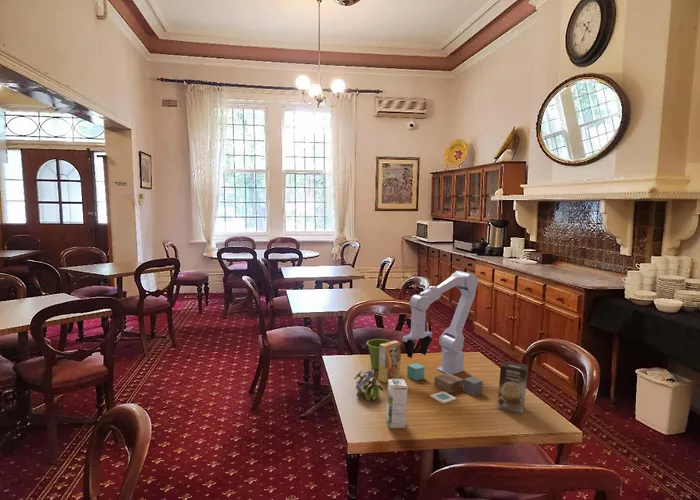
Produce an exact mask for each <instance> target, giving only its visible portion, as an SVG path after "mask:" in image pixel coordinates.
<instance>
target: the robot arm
mask: <svg viewBox="0 0 700 500" xmlns="http://www.w3.org/2000/svg"><path fill="white" fill-rule="evenodd" d="M479 283H480V281H479V279H478V277H477V275H476V274H474V273H469V272H465V271H462V270H456V271H455V272H453V273H451V275H450V277H448V278H447V279H445V280H444V281H442V282H441V283H440V284H439V285H437V286H435V285H433V286H432V285H430V286H428V288H427V289H425V290H424V291H421V292H420V293H419V294H414V295H412V296H411V298H410V300H409V301H408V304H409V306H410V311H411V320H410V322H411V323H410V332H409V333H408V334H406V335H403V336H402V344H403V346H404V347H405V351H406V355H407V357H408V358H410V359H412V358H413V354H414V347H415V345H416V343H415V342H413V341H415V340H418V339H419V341H420V354H421V355H424V356H425V355H427V351H428V348H429V346H430V344H431V343H432V341H433V339H432V337H433V332H432V331H426V314H427V312H426V311H427V310H428V309H429V307H430V305H431V304H432V303H434V302H436V301H438V300H439V299H440V298H441V296H442V294H443V293H445V292H447V291H449V290H450V289H452V288H454V287H457V289H459V291H460V293H461V294H460V297H459V300H458V304H457V306H456V309H455V312H454V314H453V317H452V320H451V321H450V322H451V323H450V325H449V327H447V328H446V329H444V330H443V332H442V334H441V335H440V337H439V338H438V344H439V345H440V347H441V365H440V367H436V369H437V370H439V371H440V372H442V373H443V374H446V373H450V374H452V375H455V374H458V373H462V372H465V371H466V370H465V369H464V363H465V355H464V352H463V351H462V350H463V349H464V341H465V337H464V335H463V330H464V326H465V324H466V320H467V318H468V317H469V313H470V310H471V307H472V305H473V302H474V299H475V297H476V293H477V292H476V290H477V287H478V284H479Z"/></svg>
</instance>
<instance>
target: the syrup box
mask: <svg viewBox="0 0 700 500" xmlns="http://www.w3.org/2000/svg"><path fill="white" fill-rule="evenodd" d="M408 387H409V386H408V384H407V382H406V381H405V379H403V378H398V379H388V382H387V392H386V393H387V395H386V407H385V410H386V414H385V421H386V425H387V428H388V429H405V428H406V420H407V405H408V404H407V401H408Z"/></svg>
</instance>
